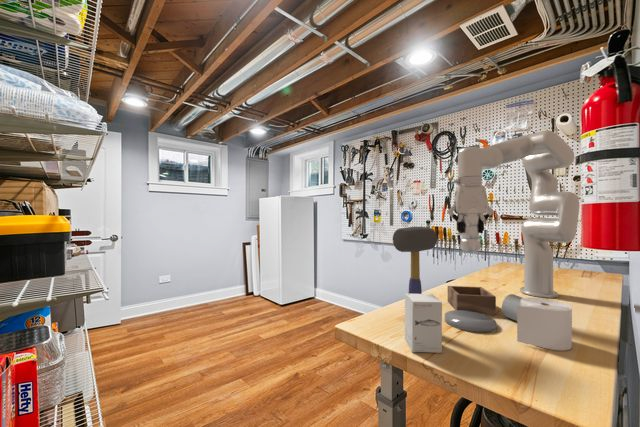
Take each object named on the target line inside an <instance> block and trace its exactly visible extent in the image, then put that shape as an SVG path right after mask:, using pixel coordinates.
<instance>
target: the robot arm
mask: <svg viewBox="0 0 640 427" xmlns="http://www.w3.org/2000/svg"><path fill="white" fill-rule="evenodd" d="M521 159H522V166H523V168H524V170H525V171H526V173H527V174H528V176H529V177H530V180H531V193H530V196H529V197H530V198H529V206H528V207H529V211H530V213H532V214H533V215H536V216H558V218H557V217H555V218H554V217H551V218H550V217H532V218H527V219H526V220H524V221H523V222H522V224H521V226H520V227H521V234H522V239H523V249H524V251H523V252H524V254H523V255H524V257H523V258H524V261H523V263H524V265H523V268H524V269H523V270H524V272H523V274H524V275H523V277H524V278H523V279H524V280H523V281H522V282H523V284H524V285H523V287H520V288H519V292H520V293H522V294H525V295H529V296H532V297H536V298H544V299H549V298H551V299H553V298H554V299H555V298H558V297H559V293H558V292H557V291H555V290H554V251H553V248H552V247H551V246H550V244H549V243H550V242H551V243H561V244H563V243H564V244H566V243H567V244H568V243H571V242H573V240H575V237H576V235H577V230H578V222H579V214H580V207H581V206H580V200H579V197H578V195H577V194H576V193H574V192H572V191H558V184H559V182H558V179H557V177H556V176H555V175H554V174H552V173H551V171H549V170H555V169H556V170H557V169H563V168H568V167H570V166H571V165H572V164H573V163H574V161H575V152H574V151H573V149H572V147H571V146H570V145H569V144H568V143H567V142H566V141H565V140H564V139H563V138H562V137H561V136H560V135H558V133H556V132H554V131H551V130H542V131H538V132H534V133H530V134H525V135H521V136H518V137H515V138H511V139H509V140H508V139H507V140H504V141H500V142H498V143H494V144H492V145H489V146H486V147H477V146H467V147H463V148H461V149H460V150H458V153H457V179H454V180H453V183H454V184H456V185H457V186H456V188H455V191H454V198H453V199H454V201H453V205H452V206H451V207H450V208H449V209H448V210H447V212H446V214H448V215H449V216H450V217H451V218H452V219H454V221H455V222H456V231H457V232H458V234H462V233H463V222H462V218H463V214H468V213H469V212H468V211H469V210H470V209H471V208H475V209H476V210H477V211H478V212H477V213H478V214H480V217H479V226H478V227H479V234H483V233H484V231H485V222H486V221H487V220H488V219H489V217H490V216H492V215H493V214H494V213H495V210H493V208H492V207H491V206H489V204H488V203H489V202H488V195H487V189H486V186H485V185H483V171H484V170H490V169H495V168H498V167H499V166H501V165H504V164H508V163H512V162H515V161H518V160H521Z"/></svg>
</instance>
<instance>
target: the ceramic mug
mask: <svg viewBox="0 0 640 427" xmlns="http://www.w3.org/2000/svg"><path fill="white" fill-rule="evenodd" d="M522 298H523V297H521V296H518V295H517V294H512V293H510V294H508V295H506V296H505V297H504V299H503V301H502V303H501V312H502V314H503V315H504V316H505V318H508V319H510V320H512V321H515V322H517V305H519V306H520V300H521V299H522Z"/></svg>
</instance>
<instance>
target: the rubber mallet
mask: <svg viewBox="0 0 640 427" xmlns="http://www.w3.org/2000/svg"><path fill="white" fill-rule="evenodd" d="M437 242H438V236H437V233H436V231H435V230H434V229H433V228H432V227H428V226H408V227H402V228H401V227H400V228H398V229H396V230H395V231H394V232H393V236H392V243H393V246H394V248H395V249H396V250H397V251H398V252H402V253H410V278H409V281H408V294H423V293H422V290H423V289H422V281H421V278H420V277H421V276H420V269H421V268H420V252H423V251H428V250H432V249H433V248H435V246H436V245H437Z"/></svg>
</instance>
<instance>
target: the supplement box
mask: <svg viewBox="0 0 640 427" xmlns="http://www.w3.org/2000/svg"><path fill="white" fill-rule="evenodd" d="M404 340H405V343H406V344H407V346H408V347H409V349H410V351H411V352H412V353H433V354H434V353H435V354H442V352H443V351H442V350H443V302H442V301H441V300H440V299H439V298H438V297H436V296H435V295H434V294H433V293H422V294H409V293H404Z"/></svg>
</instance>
